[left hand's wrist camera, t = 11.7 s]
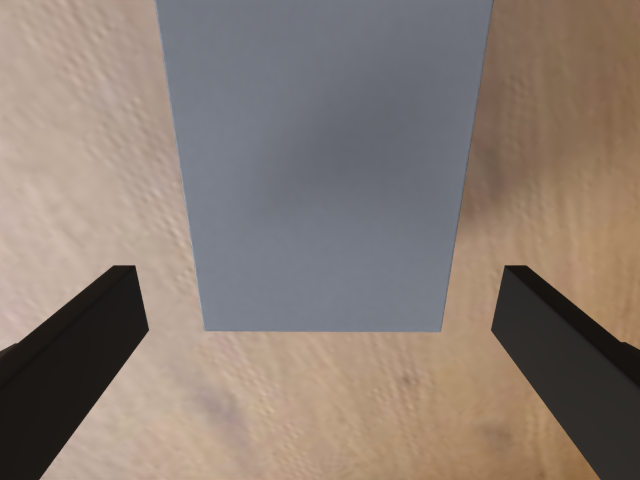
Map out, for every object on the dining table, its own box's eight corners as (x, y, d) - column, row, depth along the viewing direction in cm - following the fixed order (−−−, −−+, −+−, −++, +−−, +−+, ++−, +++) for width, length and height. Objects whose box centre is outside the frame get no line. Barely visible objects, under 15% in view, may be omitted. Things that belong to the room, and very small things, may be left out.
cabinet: (208, -106, 17) (112, -273, 9) (439, -106, 17) (538, -274, 9) (241, 255, 24) (203, 331, 17) (403, 255, 24) (441, 333, 16)
